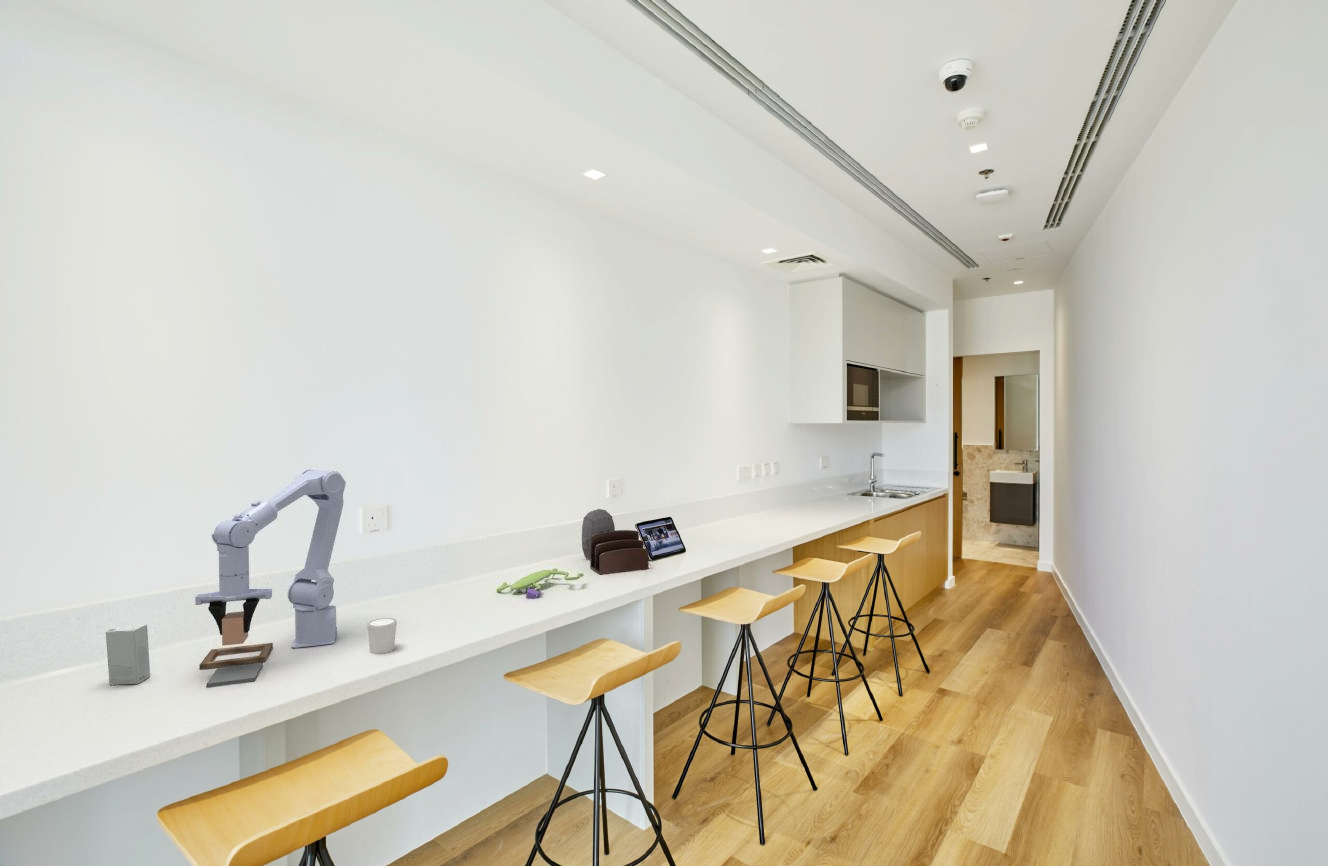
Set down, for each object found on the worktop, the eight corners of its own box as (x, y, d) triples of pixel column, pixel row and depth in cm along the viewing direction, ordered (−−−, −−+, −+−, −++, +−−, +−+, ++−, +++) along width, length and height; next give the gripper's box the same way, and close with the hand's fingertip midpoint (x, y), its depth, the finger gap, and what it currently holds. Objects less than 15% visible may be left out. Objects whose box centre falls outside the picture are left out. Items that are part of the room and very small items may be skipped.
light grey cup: (402, 647, 164) (402, 620, 164) (378, 656, 158) (378, 628, 158) (385, 642, 168) (385, 615, 167) (361, 651, 162) (360, 623, 162)
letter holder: (589, 569, 245) (590, 532, 244) (637, 564, 254) (638, 528, 253) (599, 575, 236) (599, 537, 236) (649, 569, 245) (649, 532, 245)
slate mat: (263, 666, 152) (262, 662, 152) (254, 681, 144) (254, 677, 144) (217, 671, 149) (217, 668, 149) (206, 687, 140) (206, 683, 140)
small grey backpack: (608, 554, 270) (608, 506, 269) (620, 557, 263) (621, 508, 262) (577, 559, 260) (577, 509, 259) (589, 563, 254) (589, 512, 253)
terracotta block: (248, 636, 152) (247, 610, 152) (243, 643, 147) (242, 617, 147) (228, 638, 151) (227, 612, 150) (222, 645, 146) (221, 619, 146)
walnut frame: (272, 647, 164) (272, 642, 164) (265, 662, 154) (264, 657, 154) (211, 654, 159) (211, 649, 159) (199, 669, 150) (199, 664, 150)
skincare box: (151, 676, 146) (149, 623, 145) (137, 685, 141) (135, 630, 141) (121, 677, 145) (120, 623, 145) (106, 686, 141) (104, 630, 140)
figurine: (589, 588, 220) (589, 572, 220) (519, 604, 202) (519, 586, 202) (559, 577, 234) (559, 562, 234) (491, 591, 216) (491, 574, 216)
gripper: (190, 580, 142) (191, 642, 142) (267, 575, 147) (268, 634, 148) (200, 572, 148) (201, 631, 149) (273, 567, 154) (274, 624, 154)
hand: (235, 632), depth 149 cm, fingers closed on terracotta block, 4 cm apart
